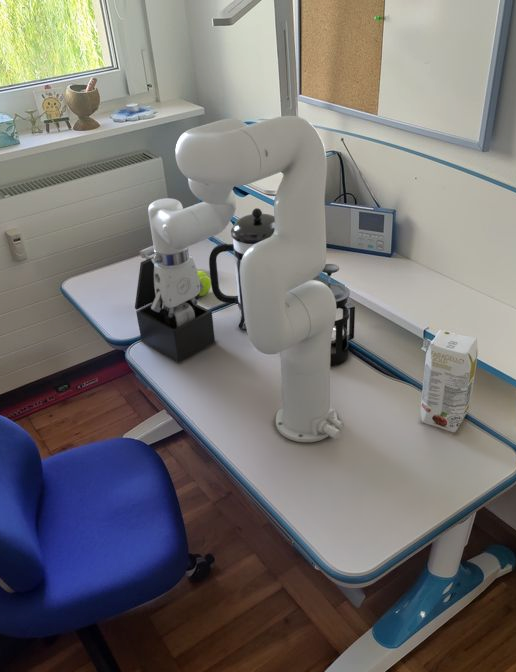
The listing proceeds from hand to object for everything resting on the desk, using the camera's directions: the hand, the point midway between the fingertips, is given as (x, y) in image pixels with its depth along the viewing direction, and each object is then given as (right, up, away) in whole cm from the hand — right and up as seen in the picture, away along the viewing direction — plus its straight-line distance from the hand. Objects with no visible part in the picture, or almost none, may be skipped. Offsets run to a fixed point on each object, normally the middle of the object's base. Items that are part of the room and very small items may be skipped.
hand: (181, 323), depth 157 cm
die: (0, 0, 0) cm, 1 cm away
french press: (+35, -8, -3) cm, 36 cm away
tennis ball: (+2, +9, +25) cm, 26 cm away
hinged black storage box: (-2, -4, +5) cm, 7 cm away
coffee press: (+18, +1, +12) cm, 22 cm away
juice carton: (+56, -20, -24) cm, 64 cm away
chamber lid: (-5, +10, -1) cm, 12 cm away
